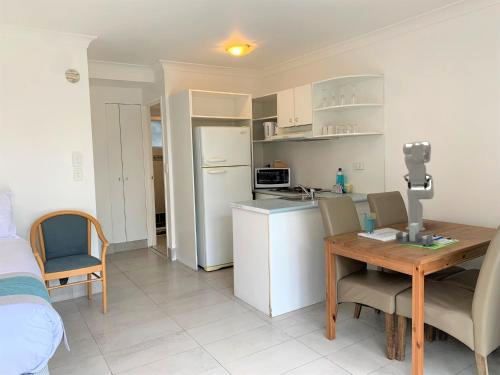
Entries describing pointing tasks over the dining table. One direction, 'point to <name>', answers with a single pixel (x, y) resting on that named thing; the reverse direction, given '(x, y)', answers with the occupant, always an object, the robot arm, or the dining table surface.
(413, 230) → the pale green rectangular prism
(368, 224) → the cup
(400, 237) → the rack
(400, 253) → the dining table surface
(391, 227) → the dining table surface
